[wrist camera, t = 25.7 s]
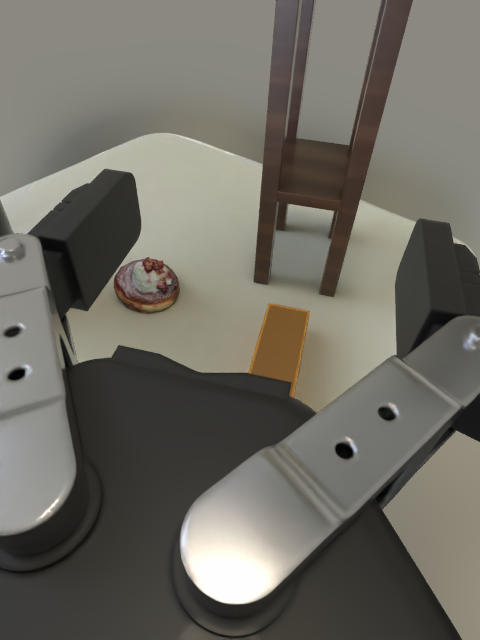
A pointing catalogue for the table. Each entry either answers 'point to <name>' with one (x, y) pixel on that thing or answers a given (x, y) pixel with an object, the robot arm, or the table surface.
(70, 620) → the robot arm
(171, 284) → the pastry
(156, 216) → the table surface
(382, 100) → the stand
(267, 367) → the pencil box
